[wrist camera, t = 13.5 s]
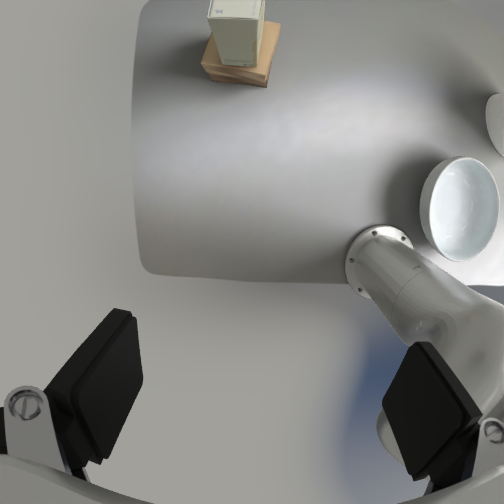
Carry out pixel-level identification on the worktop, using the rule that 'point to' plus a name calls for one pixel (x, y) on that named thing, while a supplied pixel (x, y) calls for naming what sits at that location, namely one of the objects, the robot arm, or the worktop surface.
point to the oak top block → (256, 74)
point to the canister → (496, 121)
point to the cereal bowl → (459, 208)
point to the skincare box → (237, 30)
